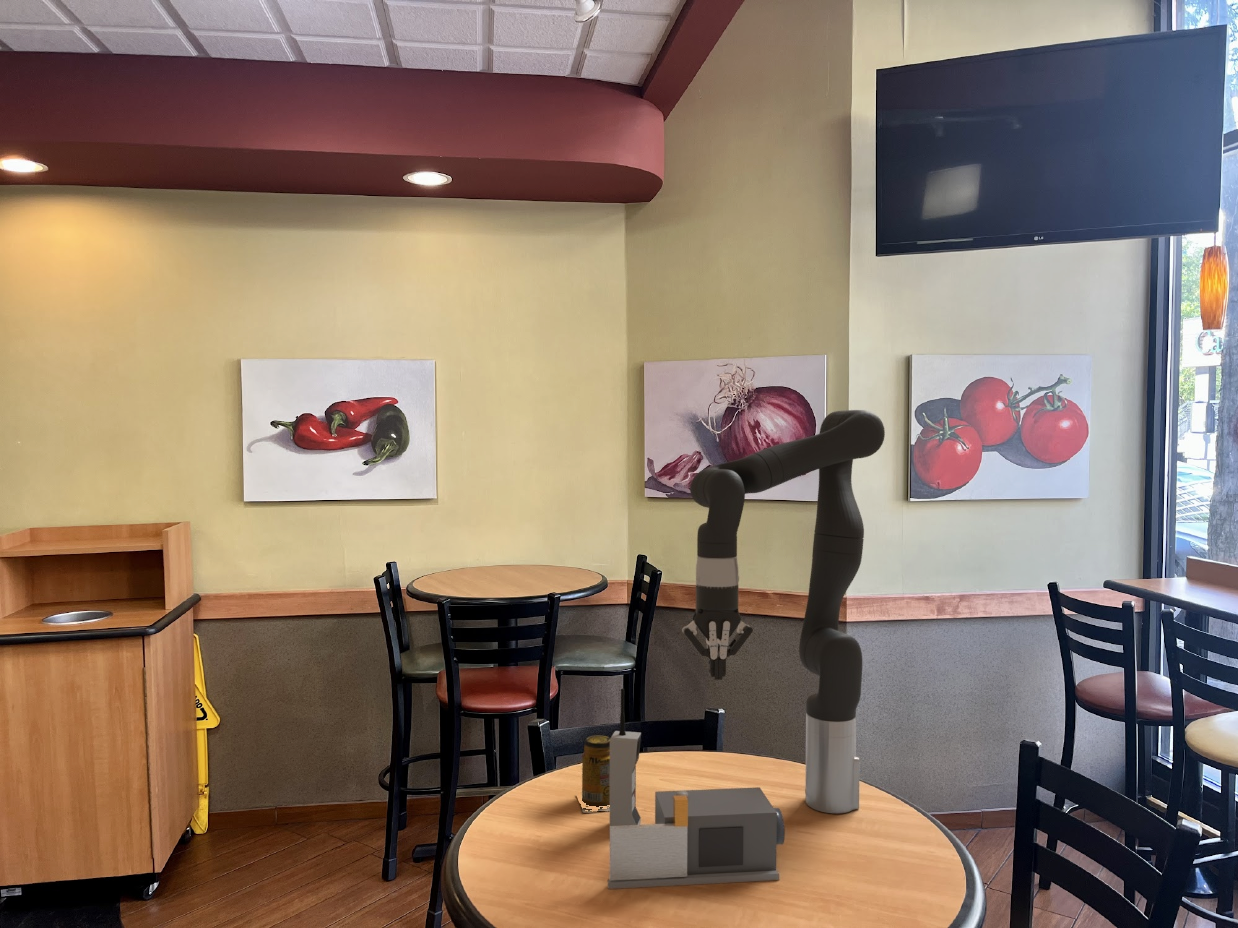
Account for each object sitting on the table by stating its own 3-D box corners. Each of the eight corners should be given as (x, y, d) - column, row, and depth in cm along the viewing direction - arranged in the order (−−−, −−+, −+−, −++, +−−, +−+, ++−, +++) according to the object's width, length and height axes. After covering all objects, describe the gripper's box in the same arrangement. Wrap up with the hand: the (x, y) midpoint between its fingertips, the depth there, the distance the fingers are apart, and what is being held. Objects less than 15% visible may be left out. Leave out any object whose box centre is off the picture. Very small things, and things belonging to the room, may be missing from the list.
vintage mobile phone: (637, 833, 149) (637, 692, 148) (609, 830, 150) (609, 690, 149) (640, 824, 153) (641, 686, 152) (613, 821, 154) (614, 684, 153)
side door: (685, 872, 133) (685, 795, 133) (687, 877, 131) (687, 799, 131) (609, 876, 132) (609, 798, 131) (610, 881, 130) (610, 802, 130)
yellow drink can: (611, 792, 167) (612, 732, 167) (621, 810, 158) (621, 746, 158) (575, 795, 165) (575, 734, 165) (582, 814, 157) (583, 749, 157)
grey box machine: (770, 844, 145) (771, 782, 145) (791, 879, 133) (792, 811, 133) (601, 852, 142) (602, 788, 142) (608, 888, 130) (608, 819, 130)
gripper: (748, 577, 154) (747, 672, 155) (676, 579, 153) (676, 674, 153) (759, 584, 147) (759, 683, 147) (684, 585, 146) (684, 686, 146)
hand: (716, 678), depth 150 cm, fingers closed
